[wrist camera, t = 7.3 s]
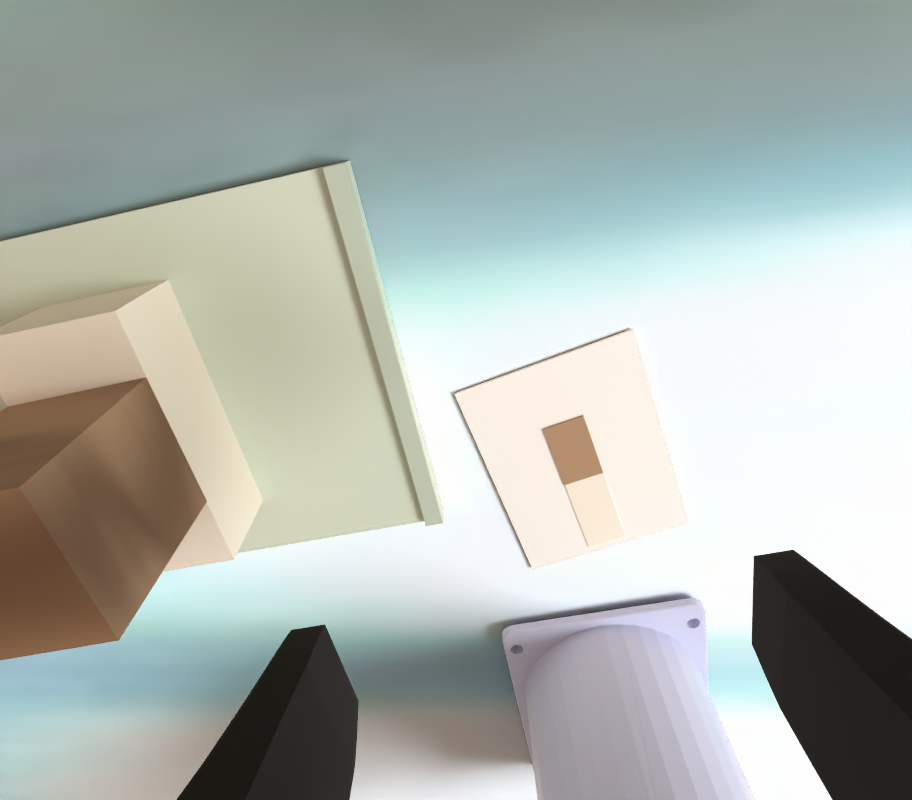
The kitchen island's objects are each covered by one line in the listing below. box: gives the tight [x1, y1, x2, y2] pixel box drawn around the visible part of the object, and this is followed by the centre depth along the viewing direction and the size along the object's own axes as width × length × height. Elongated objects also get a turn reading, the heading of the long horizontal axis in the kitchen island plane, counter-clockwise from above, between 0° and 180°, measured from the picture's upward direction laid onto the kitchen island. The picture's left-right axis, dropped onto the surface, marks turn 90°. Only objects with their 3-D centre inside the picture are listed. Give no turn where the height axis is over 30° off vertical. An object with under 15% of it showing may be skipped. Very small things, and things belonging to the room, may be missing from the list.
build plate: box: [0, 160, 443, 553], centre depth 19 cm, size 12×14×1 cm
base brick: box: [0, 280, 263, 571], centre depth 18 cm, size 8×4×3 cm, turn 12°
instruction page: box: [454, 329, 688, 569], centre depth 21 cm, size 8×6×1 cm
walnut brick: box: [0, 378, 207, 660], centre depth 14 cm, size 4×4×5 cm
